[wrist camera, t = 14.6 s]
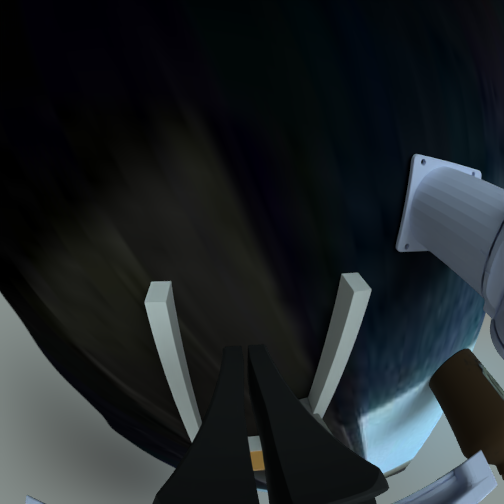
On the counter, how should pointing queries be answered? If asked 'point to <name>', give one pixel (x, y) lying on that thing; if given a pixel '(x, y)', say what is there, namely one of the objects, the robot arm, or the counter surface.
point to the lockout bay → (327, 375)
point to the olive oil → (472, 406)
